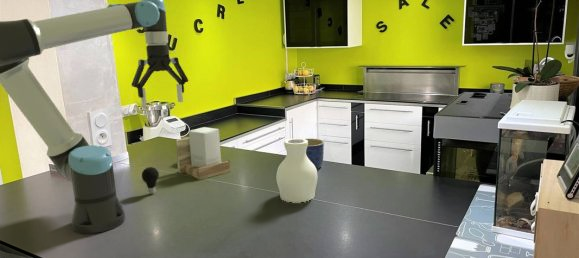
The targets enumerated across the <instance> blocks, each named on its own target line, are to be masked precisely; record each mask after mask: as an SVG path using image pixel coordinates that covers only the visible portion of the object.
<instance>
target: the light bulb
mask: <svg viewBox="0 0 579 258" xmlns="http://www.w3.org/2000/svg"><path fill="white" fill-rule="evenodd" d="M159 176H160V173H159V171H158V170H157V168H155V167H152V166H148V167H146V168H145V169H143V170H142V172H141V179H142V180H143V182H145V184H146V187H147V190H148V191H147V192H148V193H149V194H151V195H153V194H155V192H156V187H157V181H158V180H159Z"/></svg>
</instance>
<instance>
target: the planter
mask: <svg viewBox="0 0 579 258" xmlns="http://www.w3.org/2000/svg"><path fill="white" fill-rule="evenodd" d="M305 139H306V140H308V146H307V149H306V155H307V157H308V159H309V160H310V161H311V162H312V163H313V164H314V166H315V167H316V170H318V169H320V168H321V167H322V166H323V162H324V146H325V142H324V140H322V139H317V138H305Z"/></svg>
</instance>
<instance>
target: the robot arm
mask: <svg viewBox="0 0 579 258" xmlns="http://www.w3.org/2000/svg"><path fill="white" fill-rule="evenodd" d="M166 13H167V11H166V5H165V2H164V0H140V1H136V2H129V3H110V4H108V5H107V6H106V7H104V8H98V9H93V10H88V11H83V12H77V13H72V14H65V15H62V16H57V17H56V16H55V17H51V18H50V17H49V18H45V19H41V20H36V21H35V20H34V21H32V20H31V19H28V18H24V19H18V20H5V21H3V20H1V21H0V86H1V87H2V88H3V89H4V91H5V92H6V93H7V95H8V96H9V97H10V98H11V100H12V101H13V102H14V104H15V105H16V106H17V108H18V110H19V111H20V112H21V113H22V115H23V116H24V117H25V118H26V120H27V121H28V123H29V124H30V125H31V126H32V128H33V129H34V131H35V132H36V134H38V136H39V137H40V139H41V140H42V141H43V142H44V143H45V145H46V146H47V151H46V156H47V157H48V158H49V159H50V161H51V162H52V164H54V167H55V170H56V171H57V173H59V175H60V176H62V177H64V178H65V179H67V181H70V183H71V184H72V185H71V186H72V190H73V197H74V208H73V212H72V217H71V221H70V222H71V229H72V230H73V232H75V233H78V234H97V233H103V232H107V231H110V230H112V229H115V228H117V227H118V226H121V225H122V224H123V223H124V222H125V220H126V213H125V209H124V208H123V206H122V203H121V202H120V200H119V198H118V196H117V189H116V182H115V172H114V163H113V162H114V159H113V157H112V153H111V151H110V150H109V148H107V147H105V146H102V145H94V144H93V145H90V144H89V143H88V141H87V140H86V138H85V137H84V136H83V134H82V133H77V132H75V131H74V130H73V129H72V127H71V126H70V125H69V123H68V122H67V120H66V118H64V116H63V114H62V113H61V111H60V110H59V109H58V107H57V106H56V105H55V103H54V102H53V100H52V99H51V98H50V96H49V95H48V93H47V92H46V90H45V88H44V87H43V85H41V83H40V82H39V80H38V79H37V77H36V76H35V74H34V73H33V72H32V71H31V68H30V67H29V61H30V58H32V57H36V56H40V55H42V53H43V51H44V50H49V49H53V48H56V47H61V46H65V45H70V44H74V43H78V42H84V41H86V40H92V39H96V38H100V37H105V36H109V35H112V34H117V33H121V32H126V31H129V30H136V29H140V28H143V29H144V37H145V38H144V39H145V44H146V46H145V48H146V56H147V59H142V58H140V59H138V65H137V68H136V71H135V74H134V77H133V79H132V82H131V87H133V88H135V89H137V95H138V98H140V100H141V101H140V102H141V107H143V108H147V107H148V105H147V95H146V94H147V93H146V88H144V86H145V84H146V83H147V82H148V80H149V78H151V76H152V74H154V72H160V71H161V72H167V73H168V74H169V75H170V76H171V77H172V79H174V80H175V81H176V82H177V83H176V84H175V85H176V95H177V102H178V103H184V98H183V93H185V86H184V85H185V84H186V83H188V82H189V79H188V77H187V75H186V73H185V72H184V70H183V68H182V66H181V64H180V61H179V58H178V57H175V56H173V57H172V58H171V57H170V48H169V44H168V43H169V38H168V37H169V36H168V28H167V15H166ZM170 64H173V67H174V68H175V70H176V71H174V70H173V68H172V67H171V66H170ZM146 65H148V68H147V69H146V71H145V73H144V74H143V72H144V69H145V67H146ZM177 73H178V74H177ZM142 74H143V75H142Z"/></svg>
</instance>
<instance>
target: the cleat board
mask: <svg viewBox="0 0 579 258" xmlns="http://www.w3.org/2000/svg"><path fill="white" fill-rule="evenodd" d="M175 147H176V149H175V150H176V159H177V170H178V171H177V172H178V173H179V174H183V173H186V174H188V175H190V176H192V177H194V178H196V179H197V180H203V179H208V178H211V177H215V176H218V175H219V176H220V175H224V174H229V173H231V166H230V161H228V160H226V161H221V163H218V164H214V165H209V166H205V167H201V168H200V167H195V166H192V162H191V151H190V140H189V136H188V137H184V138H183V137H182V138H179V139H178V138H176V139H175Z"/></svg>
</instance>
